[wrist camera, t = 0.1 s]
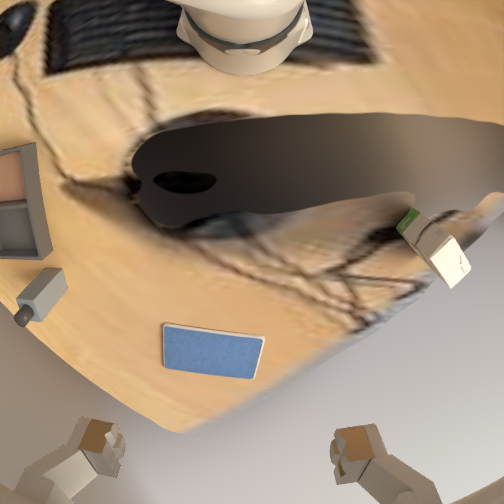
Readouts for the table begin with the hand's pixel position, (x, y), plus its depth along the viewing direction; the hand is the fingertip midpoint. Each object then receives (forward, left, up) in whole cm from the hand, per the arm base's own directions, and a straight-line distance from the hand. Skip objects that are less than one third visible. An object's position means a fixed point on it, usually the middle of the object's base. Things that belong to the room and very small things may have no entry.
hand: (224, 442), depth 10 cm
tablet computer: (+33, -6, -40) cm, 52 cm away
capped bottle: (+17, -36, -39) cm, 55 cm away
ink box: (+7, +30, -39) cm, 50 cm away
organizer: (+1, -42, -39) cm, 57 cm away
